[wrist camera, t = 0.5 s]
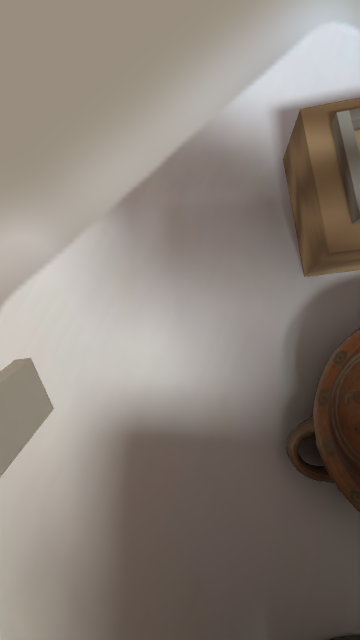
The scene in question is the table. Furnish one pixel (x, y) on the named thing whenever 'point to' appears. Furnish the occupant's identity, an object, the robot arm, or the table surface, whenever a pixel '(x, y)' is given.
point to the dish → (335, 423)
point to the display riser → (326, 186)
